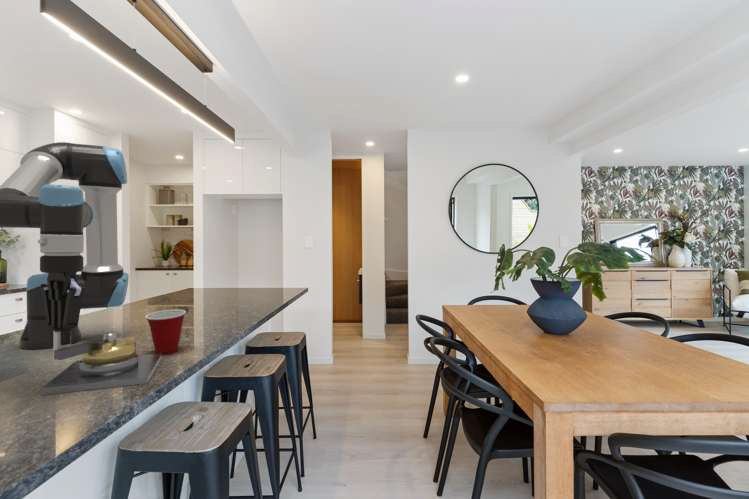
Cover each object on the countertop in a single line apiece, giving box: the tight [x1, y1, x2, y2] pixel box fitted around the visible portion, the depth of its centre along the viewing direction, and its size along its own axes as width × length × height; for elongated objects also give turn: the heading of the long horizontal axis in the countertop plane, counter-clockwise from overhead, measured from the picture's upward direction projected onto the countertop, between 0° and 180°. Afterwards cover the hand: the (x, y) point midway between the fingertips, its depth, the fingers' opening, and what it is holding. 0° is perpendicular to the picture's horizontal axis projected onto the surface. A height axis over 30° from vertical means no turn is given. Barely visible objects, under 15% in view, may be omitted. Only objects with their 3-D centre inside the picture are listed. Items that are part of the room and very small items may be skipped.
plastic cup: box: [144, 308, 187, 355], centre depth 113 cm, size 11×11×12 cm
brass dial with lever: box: [53, 331, 137, 364], centre depth 90 cm, size 18×11×6 cm, turn 164°
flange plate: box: [40, 352, 163, 396], centre depth 93 cm, size 20×20×4 cm
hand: (62, 358), depth 84 cm, fingers closed
